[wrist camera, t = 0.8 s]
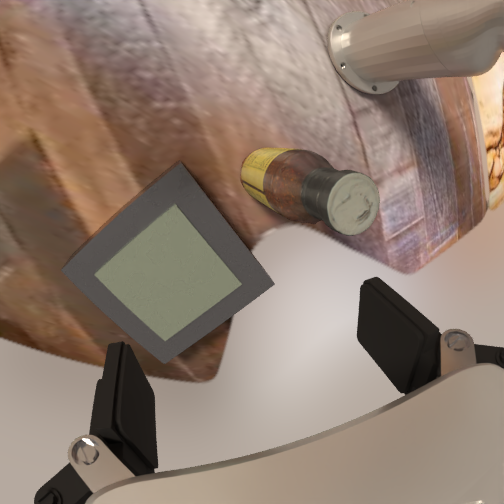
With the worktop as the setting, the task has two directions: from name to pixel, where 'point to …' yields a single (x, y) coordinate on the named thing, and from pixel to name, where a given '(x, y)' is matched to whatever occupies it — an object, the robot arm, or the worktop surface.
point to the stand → (168, 266)
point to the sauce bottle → (310, 189)
